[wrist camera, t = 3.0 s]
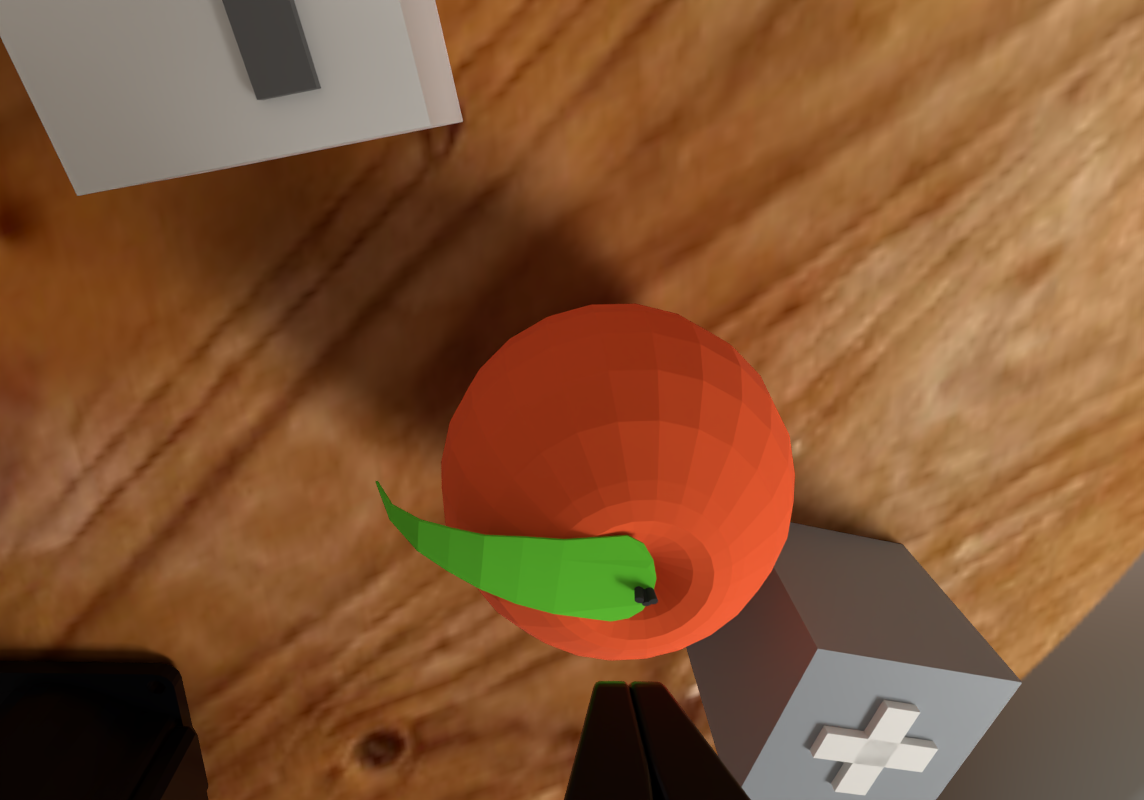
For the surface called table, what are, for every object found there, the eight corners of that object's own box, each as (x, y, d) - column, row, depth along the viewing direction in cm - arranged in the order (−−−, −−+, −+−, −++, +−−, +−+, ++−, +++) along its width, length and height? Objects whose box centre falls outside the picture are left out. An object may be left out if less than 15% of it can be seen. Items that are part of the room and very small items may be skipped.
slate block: (685, 644, 20) (734, 812, 15) (744, 511, 18) (822, 655, 13) (830, 667, 21) (920, 833, 16) (901, 543, 19) (1028, 690, 14)
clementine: (410, 506, 17) (338, 749, 11) (419, 245, 14) (329, 355, 8) (701, 528, 18) (800, 764, 11) (763, 285, 15) (940, 414, 9)
